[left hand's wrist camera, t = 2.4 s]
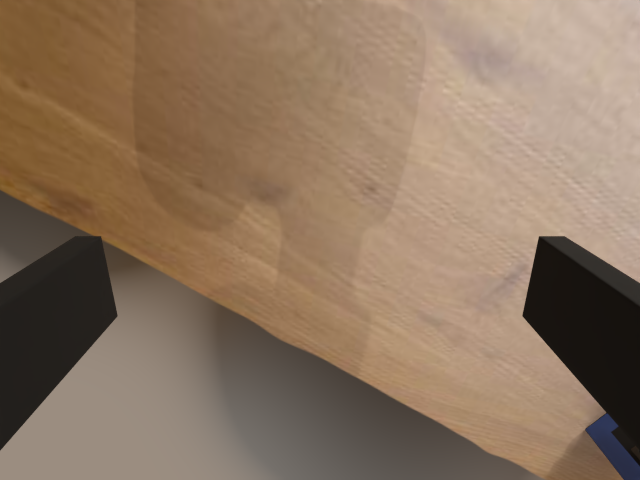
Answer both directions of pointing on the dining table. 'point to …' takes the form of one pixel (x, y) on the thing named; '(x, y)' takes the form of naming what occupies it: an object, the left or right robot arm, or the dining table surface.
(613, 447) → the brick
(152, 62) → the dining table surface
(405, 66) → the dining table surface
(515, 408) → the dining table surface
